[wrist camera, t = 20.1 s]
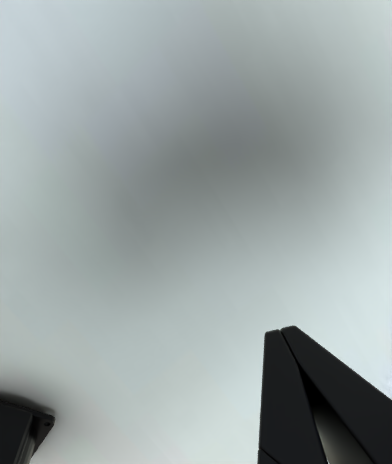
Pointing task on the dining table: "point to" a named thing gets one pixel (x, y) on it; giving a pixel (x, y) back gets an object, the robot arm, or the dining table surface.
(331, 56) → the dining table surface
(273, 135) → the dining table surface
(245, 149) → the dining table surface
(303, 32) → the dining table surface
